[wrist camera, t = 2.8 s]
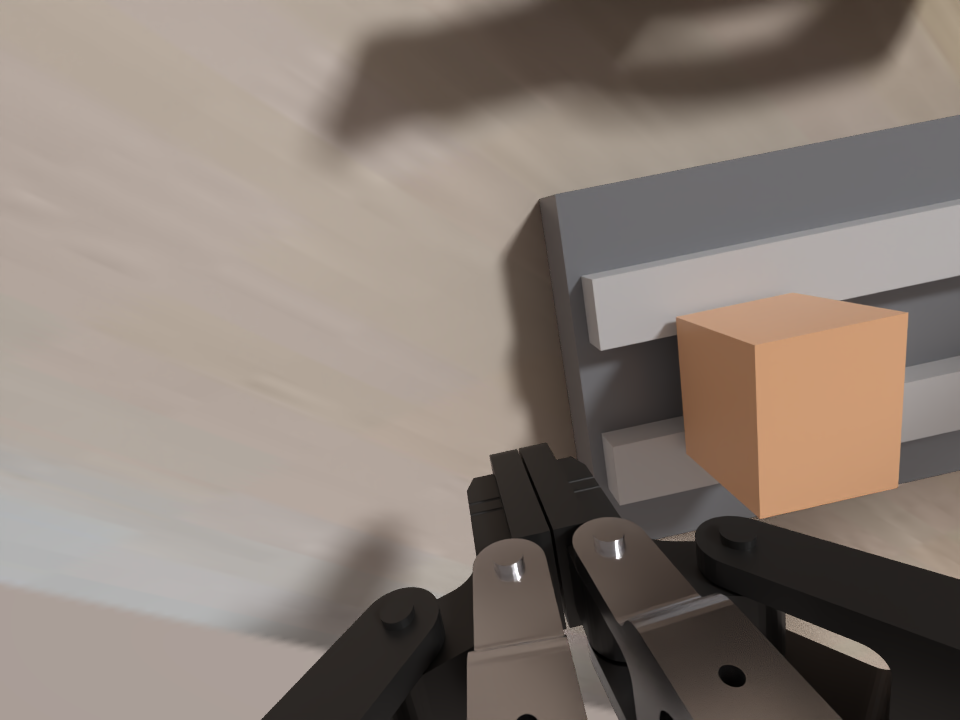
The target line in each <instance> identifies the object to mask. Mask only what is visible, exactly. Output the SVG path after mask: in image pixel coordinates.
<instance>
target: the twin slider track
mask: <svg viewBox="0 0 960 720" xmlns="http://www.w3.org/2000/svg"><path fill="white" fill-rule="evenodd" d="M539 202H540V208H541V215H542V222H543V229H544V236H545V242H546V249H547V256H548V263H549V269H550V276H551V283H552V290H553V297H554V303H555V310H556V317H557V324H558V330H559V337H560V344H561V351H562V358H563V364H564V371H565V378H566V385H567V391H568V398H569V405H570V412H571V419H572V425H573V432H574V439H575V446H576V452H577V459H578V461H580V462H582V463H583V464H585V465H586V466H587V468H588V469H589V471H590V472H591V474H592V475H593V478H595V480H596V481H597V483H598V484H599V487H601V489H602V490H603V492H604V493H605V495H606V496H607V497H608V499H609V500H610V502H611V503H612V505H613V506H614V508H615V509H616V511H617V512H618V514H619V515H620V517H621V518H622V519H626V520H629V521H631V522H633V523H635V524H637V525H638V526H640V527H641V528H642V529H643V530H644V531H645V532H646V534H647V535H648V536H649V537H650V538H651V539H654V540H655V539H660V538H664V537H669V536H673V535H678V534H682V533H686V532H691V531H695V530H697V528H698V527H699V526H700V525H701V524H702V523H703V522H705V521H707V520H709V519H711V518H715V517H721V516H739V517H745V518H752V517H757V516H756V515H755V514H754V513H753V512H752V511H751V510H749V509H748V508H747V507H746V506H745V505H744V504H743V503H741V502H740V501H739V500H738V499H737V498H736V497H735V496H734V495H732V494H731V493H730V492H729V491H728V490H727V489H726V488H725V487H723V486H722V485H721V484H720V483H719V482H718V481H717V480H716V479H714V478H713V477H712V476H711V475H710V474H709V473H708V472H706V471H705V470H704V469H703V468H702V467H701V466H700V465H699V464H697V463H696V462H695V461H694V460H693V459H692V458H691V457H690V456H688V455H687V454H686V443H685V430H684V417H683V404H682V391H681V378H680V365H679V352H678V339H677V326H676V317H678V316H683V315H688V314H692V313H697V312H702V311H707V310H712V309H716V308H721V307H726V306H731V305H735V304H740V303H745V302H750V301H755V300H759V299H764V298H769V297H774V296H779V295H783V294H788V293H798V294H804V295H810V296H816V297H821V298H827V299H833V300H839V301H844V302H850V303H856V304H862V305H867V306H873V307H879V308H885V309H891V310H896V311H902V312H908V329H907V346H906V363H905V380H904V396H903V413H902V430H901V447H900V463H899V480H898V484H902V483H907V482H911V481H915V480H920V479H924V478H929V477H933V476H938V475H942V474H946V473H951V472H955V471H960V115H957V116H952V117H946V118H941V119H936V120H931V121H926V122H921V123H916V124H911V125H906V126H901V127H896V128H891V129H885V130H880V131H875V132H870V133H865V134H860V135H855V136H850V137H845V138H840V139H835V140H830V141H824V142H819V143H814V144H809V145H804V146H799V147H794V148H789V149H784V150H779V151H774V152H768V153H763V154H758V155H753V156H748V157H743V158H738V159H733V160H728V161H723V162H718V163H713V164H707V165H702V166H697V167H692V168H687V169H682V170H677V171H672V172H667V173H662V174H657V175H651V176H646V177H641V178H636V179H631V180H626V181H621V182H616V183H611V184H606V185H601V186H596V187H590V188H585V189H580V190H575V191H570V192H565V193H560V194H555V195H552V196H548V197H545V198H541V199H539Z"/></svg>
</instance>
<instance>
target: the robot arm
mask: <svg viewBox="0 0 960 720" xmlns="http://www.w3.org/2000/svg"><path fill="white" fill-rule="evenodd" d="M490 461H491V466H492V471H493V474H491V475H486V476H482V477H477V478H473V480H472V482H471V484H470V486H469V488H468V490H467V495H468V502H469V509H470V515H471V522H472V529H473V536H474V543H475V550H476V559H475V560H474V563H473V573H472V574H471V576H470V577H469V578H468V580H467V581H466V582H465V583H463V584H462V585H461V586H460V587H458V588H457V589H456V590H454V591H452V592H450V593H448V594H446V595H445V596H443V597H441V598H439V599H436V598H435V596H434V595H433V594H432V593H430V592H429V591H427V590H425V589H422V588H416V587H408V588H402V589H398V590H395V591H392V592H390V593H388V594H386V595H384V596H382V597H381V598H379V599H378V600H377V601H375V602H374V603H373V604H372V605H371V606H370V607H369V608H368V609H367V610H366V611H365V612H364V613H363V614H362V615H361V616H360V617H359V618H358V619H357V620H356V621H355V623H354V624H353V625H352V626H351V627H350V628H349V629H348V630H347V631H346V632H345V633H344V634H343V635H342V636H341V637H340V638H339V639H338V640H337V641H336V642H335V643H334V644H333V645H332V646H331V648H330V649H329V650H328V651H327V652H326V653H325V654H324V655H323V656H322V657H321V658H320V659H319V660H318V661H317V662H316V663H315V664H314V665H313V666H312V668H310V669H309V671H307V673H306V674H305V675H304V676H303V677H302V678H301V679H300V680H299V681H298V682H297V683H296V684H295V685H294V686H293V687H292V688H291V689H290V690H289V691H288V692H287V693H286V695H285V696H284V697H283V698H282V699H281V700H280V701H279V702H278V703H277V704H276V705H275V706H274V707H273V708H272V709H271V710H270V711H269V712H268V713H267V714H266V715H265V716H264V718H262V720H587V716H586V712H585V708H584V704H583V700H582V696H581V691H580V687H579V683H578V679H577V675H576V671H575V667H574V663H573V659H572V655H571V651H570V647H569V643H568V639H567V636H566V635H564V631H563V630H564V629H566V623H565V617H564V613H565V616H566V619H567V622H568V625H569V627H570V628H572V627H576V626H580V625H583V628H584V630H585V633H586V635H587V639H588V646H589V652H590V658H591V661H592V664H593V666H594V668H595V670H596V673H597V675H598V677H599V679H600V681H601V683H602V685H603V687H604V690H605V692H606V694H607V696H608V698H609V700H610V702H611V704H612V707H613V709H614V711H615V713H616V715H617V717H618V719H619V720H960V579H956V578H953V577H949V576H946V575H942V574H939V573H935V572H932V571H929V570H925V569H922V568H918V567H915V566H911V565H908V564H905V563H901V562H898V561H894V560H891V559H887V558H884V557H880V556H877V555H874V554H870V553H867V552H863V551H860V550H856V549H853V548H850V547H846V546H843V545H839V544H836V543H832V542H829V541H825V540H822V539H819V538H815V537H812V536H808V535H805V534H801V533H798V532H794V531H791V530H788V529H784V528H781V527H777V526H774V525H770V524H767V523H764V522H760V521H757V520H753V519H749V518H745V517H739V516H721V517H715V518H711V519H709V520H707V521H705V522H703V523H702V524H701V525H700V526H699V527H698V528H697V530H696V533H695V541H660V540H654V539H651V538H650V537H649V536H648V535H647V534H646V532H645V531H644V530H643V529H642V528H641V527H640V526H638V525H637V524H635V523H633V522H631V521H629V520H626V519H622V518H621V517H620V515H619V514H618V512H617V511H616V509H615V508H614V506H613V505H612V503H611V502H610V500H609V499H608V497H607V496H606V495H605V493H604V492H603V490H602V489H601V487H599V484H598V483H597V481H596V480H595V478H593V475H592V474H591V472H590V471H589V469H588V468H587V466H586V465H585V464H583V463H582V462H580V461H578V460H576V459H574V458H572V457H568V458H563V459H559V460H556V459H555V457H554V455H553V453H552V451H551V450H550V448H549V446H548V444H547V443H542V444H538V445H533V446H528V447H524V448H519V453H518V450H517V449H515V450H511V451H506V452H501V453H497V454H492V455H490ZM563 610H564V611H563ZM785 613H787V614H789V615H792V616H794V617H797V618H799V619H802V620H804V621H807V622H809V623H812V624H814V625H817V626H819V627H822V628H824V629H827V630H829V631H831V632H834V633H836V634H839V635H841V636H844V637H846V638H849V639H851V640H854V641H856V642H859V643H861V644H863V645H865V646H867V647H869V648H871V649H872V650H874V651H875V652H876V653H877V654H879V655H880V656H881V657H882V658H883V659H884V660H885V662H886V663H887V664H888V666H889V668H890V670H884V669H880V668H876V667H874V666H871V665H869V664H867V663H864V662H862V661H859V660H857V659H855V658H852V657H850V656H848V655H845V654H843V653H841V652H838V651H836V650H834V649H831V648H829V647H826V646H824V645H822V644H819V643H817V642H815V641H812V640H810V639H808V638H805V637H803V636H800V635H798V634H796V633H793V632H791V631H789V630H786V622H785Z"/></svg>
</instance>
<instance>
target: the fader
mask: <svg viewBox="0 0 960 720" xmlns="http://www.w3.org/2000/svg"><path fill="white" fill-rule="evenodd" d="M676 326H677V339H678V352H679V365H680V378H681V391H682V404H683V417H684V430H685V443H686V454H687V455H688V456H690V457H691V458H692V459H693V460H694V461H695V462H696V463H697V464H699V465H700V466H701V467H702V468H703V469H704V470H705V471H706V472H708V473H709V474H710V475H711V476H712V477H713V478H714V479H716V480H717V481H718V482H719V483H720V484H721V485H722V486H723V487H725V488H726V489H727V490H728V491H729V492H730V493H731V494H732V495H734V496H735V497H736V498H737V499H738V500H739V501H740V502H741V503H743V504H744V505H745V506H746V507H747V508H748V509H749V510H751V511H752V512H753V513H754V514H755V515H756V516H757V517H758V518H760V519H763V518H767V517H771V516H776V515H780V514H785V513H789V512H793V511H798V510H802V509H807V508H811V507H815V506H820V505H824V504H829V503H833V502H837V501H842V500H846V499H851V498H855V497H859V496H864V495H868V494H873V493H877V492H881V491H886V490H890V489H895V488H898V480H899V463H900V447H901V430H902V413H903V396H904V380H905V363H906V346H907V329H908V312H902V311H896V310H891V309H885V308H879V307H873V306H867V305H862V304H856V303H850V302H844V301H839V300H833V299H827V298H821V297H816V296H810V295H804V294H798V293H788V294H783V295H779V296H774V297H769V298H764V299H759V300H755V301H750V302H745V303H740V304H735V305H731V306H726V307H721V308H716V309H712V310H707V311H702V312H697V313H692V314H688V315H683V316H678V317H676Z"/></svg>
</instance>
